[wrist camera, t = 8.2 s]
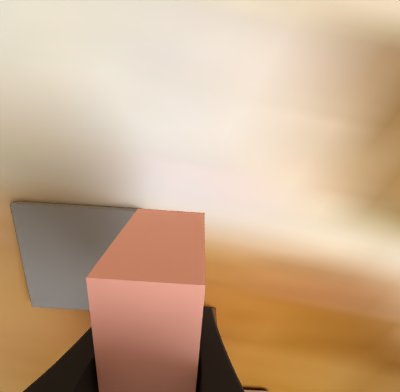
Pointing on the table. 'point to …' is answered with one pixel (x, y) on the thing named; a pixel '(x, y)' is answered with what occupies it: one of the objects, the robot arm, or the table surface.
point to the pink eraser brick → (149, 304)
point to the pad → (63, 248)
